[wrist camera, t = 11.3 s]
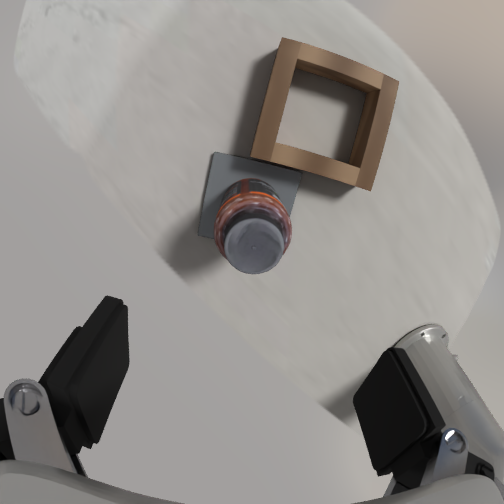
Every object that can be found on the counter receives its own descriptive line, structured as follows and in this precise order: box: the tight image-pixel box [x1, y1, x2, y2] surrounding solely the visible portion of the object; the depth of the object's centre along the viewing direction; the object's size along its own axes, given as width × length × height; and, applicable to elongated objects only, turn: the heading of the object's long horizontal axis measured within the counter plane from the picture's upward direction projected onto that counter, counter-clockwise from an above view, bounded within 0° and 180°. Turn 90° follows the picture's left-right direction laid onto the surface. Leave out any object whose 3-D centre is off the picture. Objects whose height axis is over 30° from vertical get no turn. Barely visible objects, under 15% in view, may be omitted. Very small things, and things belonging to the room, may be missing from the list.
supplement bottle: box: [214, 178, 292, 274], centre depth 24 cm, size 6×6×11 cm
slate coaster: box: [198, 152, 302, 239], centre depth 29 cm, size 9×9×1 cm
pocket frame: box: [250, 37, 399, 191], centre depth 24 cm, size 12×12×4 cm
